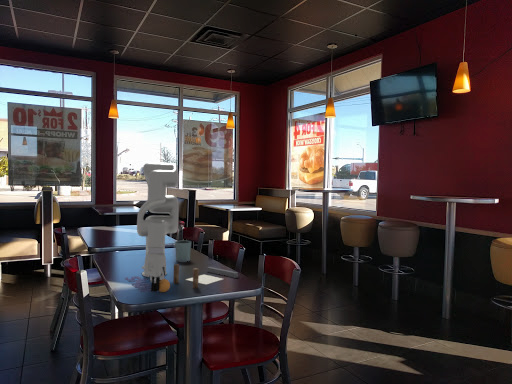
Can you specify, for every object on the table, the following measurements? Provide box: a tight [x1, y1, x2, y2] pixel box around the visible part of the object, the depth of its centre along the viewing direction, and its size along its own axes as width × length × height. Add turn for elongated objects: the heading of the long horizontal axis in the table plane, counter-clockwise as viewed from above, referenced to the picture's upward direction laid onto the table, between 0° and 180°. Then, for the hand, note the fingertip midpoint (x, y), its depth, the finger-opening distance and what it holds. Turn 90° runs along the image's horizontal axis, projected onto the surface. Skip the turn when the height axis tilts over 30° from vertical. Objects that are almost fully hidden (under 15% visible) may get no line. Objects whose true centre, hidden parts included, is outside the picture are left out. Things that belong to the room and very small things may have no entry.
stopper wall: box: [206, 266, 239, 279], centre depth 211 cm, size 20×2×2 cm, turn 56°
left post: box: [173, 263, 180, 285], centre depth 191 cm, size 3×3×9 cm
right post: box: [192, 268, 200, 289], centre depth 184 cm, size 3×3×9 cm
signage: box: [124, 276, 152, 293], centre depth 189 cm, size 28×1×10 cm
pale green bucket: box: [174, 240, 192, 263], centre depth 243 cm, size 10×10×12 cm
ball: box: [158, 278, 171, 293], centre depth 176 cm, size 6×6×6 cm
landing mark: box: [185, 274, 224, 285], centre depth 200 cm, size 14×14×1 cm
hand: (155, 291), depth 172 cm, fingers closed
